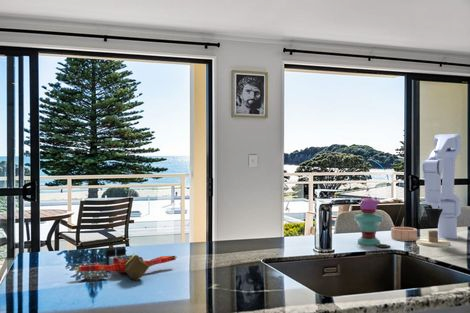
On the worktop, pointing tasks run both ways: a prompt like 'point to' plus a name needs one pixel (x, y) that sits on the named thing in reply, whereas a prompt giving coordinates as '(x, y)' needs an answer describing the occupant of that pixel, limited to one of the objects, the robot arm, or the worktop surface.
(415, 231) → the bowl
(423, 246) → the mat
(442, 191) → the robot arm
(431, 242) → the lid
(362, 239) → the toy
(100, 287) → the worktop surface
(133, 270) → the toy
